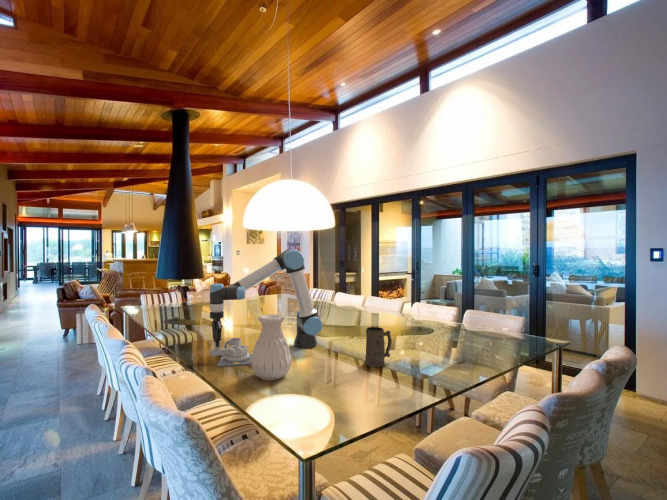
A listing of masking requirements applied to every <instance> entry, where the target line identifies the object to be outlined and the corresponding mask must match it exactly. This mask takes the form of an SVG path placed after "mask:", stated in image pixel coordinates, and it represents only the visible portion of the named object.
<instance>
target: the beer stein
mask: <svg viewBox="0 0 667 500" xmlns="http://www.w3.org/2000/svg"><path fill="white" fill-rule="evenodd" d="M365 329H366V330H365V334H366V336H365V337H366V339H365V340H366V341H365V342H366V343H365V358H364V359H365V361H364V364H365V365H366V366H369V367H373V368H374V367H375V368H378V367H379V368H380V367H383V366H385V358H386V357H387V358H391V354H390V350H391V347H392V342H393V341H392V336H391V331H390V330H386V331H385V329H384V328H383V327H377V326H369V327H366V328H365ZM385 337H387V346H386V350H385Z"/></svg>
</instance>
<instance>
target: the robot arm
mask: <svg viewBox="0 0 667 500" xmlns="http://www.w3.org/2000/svg"><path fill="white" fill-rule="evenodd" d="M284 270H285V272H286V273H285V274H286V275H288V276H290V281H291V285H292V288H293V291H294V294H295V298H296V302H297V305H298V308H299V310H297V312H296V335H295V338H294V340H293V347H295V348H297V349H312V348H315V347H318V341H317V337H316V335H318V334H319V333H320V332H321V331H322V329H323V325H324V324H323V321H322V320H321V318H320V316H319V313H318V310H317V309H316V308H315V307H314V304H313V300H312V297H311V294H310V290H309V286H308V283H307V279H306V276H305V273H304V272H305V270H306V267H305V256H304V255H303V253H302V252H301V251H299V250H298V249H286V250H284V251H282V252H281V253H279V254H278V255H277V256H275V257H273V259H272V261H269V262H268V263H266V264H265V265H263V266H261V267H260V268H258V269H256V270H254V271H252V272H251V273H249V274H248V275H246V276H243V278H241V279H239V280H238V281H235V282H234V283H231V284H230V285H228V286H227V287H226V286H225V285H224V284H223V283H212V284H210V285H209V305H208V308H209V319H212V321H211V330H212V334H211V335H212V340H213V349H221V348H220V347H221V346H220V342H221V341H222V330H223V329H222V328H223V324H222V320H221V319H222V318H224V316H225V315H224V314H225V313H224V312H225V311H224V310H225V307H224V305H225V304H224V302H225V301H240V300H245V299H246V292H247V290H249V289H251V288H253V287H255V286H256V285H258V284H259V283H261V282H262V281H264V280H266V279H267V278H269V277H272V275H274V274H276V273H277V272H283V271H284Z"/></svg>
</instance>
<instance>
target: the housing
mask: <svg viewBox="0 0 667 500" xmlns="http://www.w3.org/2000/svg"><path fill="white" fill-rule="evenodd" d="M240 348H242V347H235V348H234V349H236V351H238V349H240ZM252 356H253V353H250V352H248V354H247V355H245V356H241V357H231V356H228V355H221V357H220V359H219V360H218V362H217V364H216V367H217V368H220V367H224V368H225V367H241V366H242V367H245V366H246V367H247V366H252V365H251V359H252Z"/></svg>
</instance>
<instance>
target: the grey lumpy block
mask: <svg viewBox="0 0 667 500" xmlns="http://www.w3.org/2000/svg"><path fill="white" fill-rule="evenodd" d="M235 347H238V346H237V345H233V346H229V345H228V347H227V349H224V348H220V349H214V348H211V349H210V350H209V356H210V357H212V356H213V357H214V356H222V355H228V356H231V357H241V356H245V355H247V354H248V353H249V345H246V344H241V345H240V346H239V347H242V348H240V349H238V351H236V349H234V348H235Z"/></svg>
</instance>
